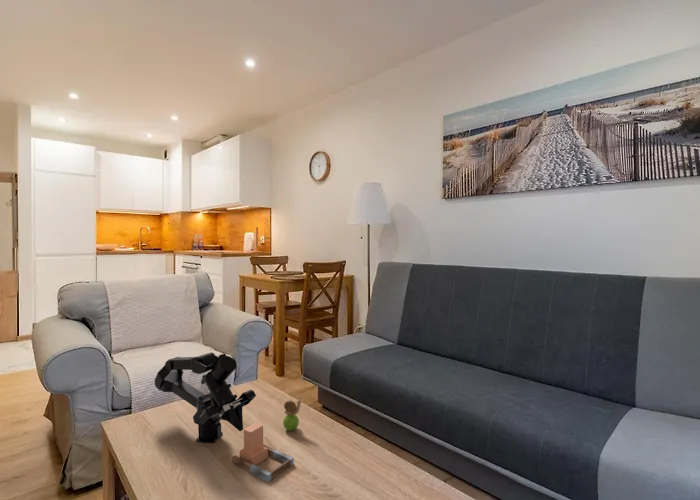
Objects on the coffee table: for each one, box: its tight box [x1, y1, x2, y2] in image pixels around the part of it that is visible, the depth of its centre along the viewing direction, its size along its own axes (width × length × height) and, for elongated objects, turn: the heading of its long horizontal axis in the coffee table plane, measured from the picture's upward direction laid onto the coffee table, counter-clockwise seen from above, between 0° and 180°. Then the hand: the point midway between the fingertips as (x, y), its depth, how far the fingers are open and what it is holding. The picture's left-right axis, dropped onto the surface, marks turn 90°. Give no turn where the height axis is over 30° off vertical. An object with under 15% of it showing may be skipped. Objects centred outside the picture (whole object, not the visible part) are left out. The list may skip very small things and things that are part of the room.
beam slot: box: [231, 443, 295, 483], centre depth 122 cm, size 16×10×2 cm
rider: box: [239, 422, 269, 466], centre depth 124 cm, size 6×6×10 cm
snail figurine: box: [282, 396, 302, 431], centre depth 142 cm, size 5×6×12 cm
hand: (241, 430), depth 127 cm, fingers closed
